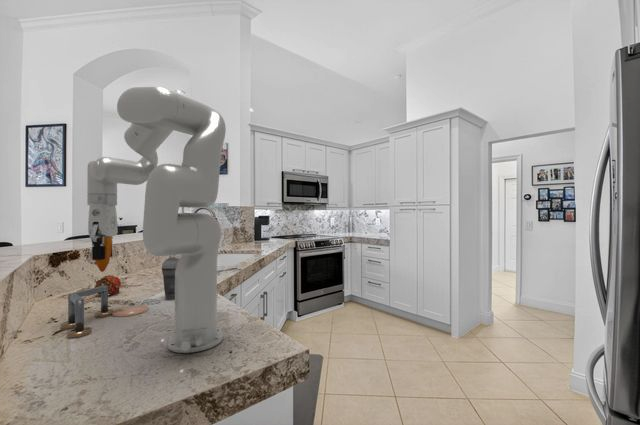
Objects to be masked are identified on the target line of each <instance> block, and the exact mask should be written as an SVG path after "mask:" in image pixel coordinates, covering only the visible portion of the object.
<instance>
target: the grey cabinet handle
mask: <svg viewBox="0 0 640 425" xmlns="http://www.w3.org/2000/svg"><path fill="white" fill-rule="evenodd" d="M98 292H101V295H100V310H97V311H95V312H94V314H93V315H94V318H97V319H100V318H107V316H108V317H111V316H112V313H113V312H114V311H115V309H109V296H108V286H107V285H104V286H100V287H96V288H94V287H92V288H87V289H84V290H80V291H75V292H72V293H71V292H70V293H67V294H68V297H67V306H68V307H67V310H68V311H67V321H65V322H62V323H60V329H61V330H69V331H67V332H66V338H67V339H77V338H78V339H79V338H83V337H86V336H88V335H90V334H92V332H93V331H92V330H93V329H92V327H90V326H85V299H84V298H82V297H86V296H90V295H93V294H94V295H95V294H98Z"/></svg>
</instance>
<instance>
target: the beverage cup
mask: <svg viewBox="0 0 640 425" xmlns="http://www.w3.org/2000/svg"><path fill="white" fill-rule="evenodd" d="M179 259H180V258H178V257H175V256H173V257H172V255H169V257H168V258H166V259H165V260H164V261H163V262H162V265H161V268H160V270H161V272H162V280H163V288H164V289H163V290H164V296H165V301H175V270H176V266H177V264H178V261H179Z"/></svg>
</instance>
